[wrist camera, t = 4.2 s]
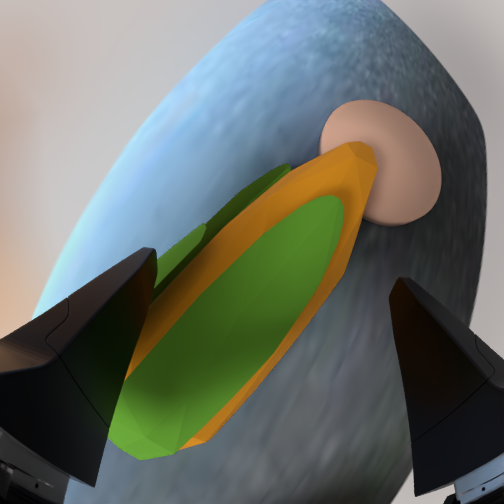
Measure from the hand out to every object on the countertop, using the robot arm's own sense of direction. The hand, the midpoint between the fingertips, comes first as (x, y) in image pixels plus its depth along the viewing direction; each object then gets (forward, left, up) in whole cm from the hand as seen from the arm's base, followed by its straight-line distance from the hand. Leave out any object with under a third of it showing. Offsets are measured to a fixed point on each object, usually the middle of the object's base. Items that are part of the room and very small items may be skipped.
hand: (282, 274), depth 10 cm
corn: (0, +1, -7) cm, 8 cm away
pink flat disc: (+8, -9, -7) cm, 14 cm away
